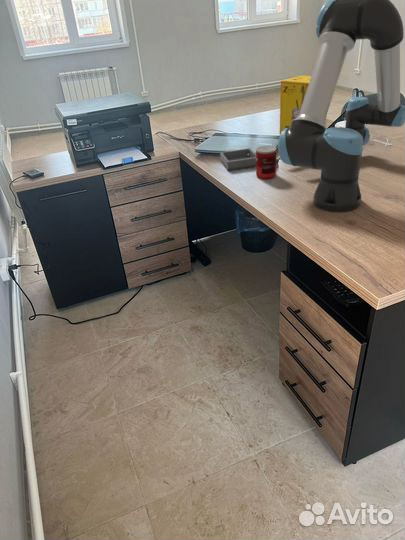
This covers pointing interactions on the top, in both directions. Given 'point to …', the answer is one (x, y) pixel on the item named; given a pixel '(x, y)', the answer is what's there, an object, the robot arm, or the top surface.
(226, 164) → the charcoal bin
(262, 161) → the canned food
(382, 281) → the top surface
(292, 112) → the packaging box
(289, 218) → the top surface
